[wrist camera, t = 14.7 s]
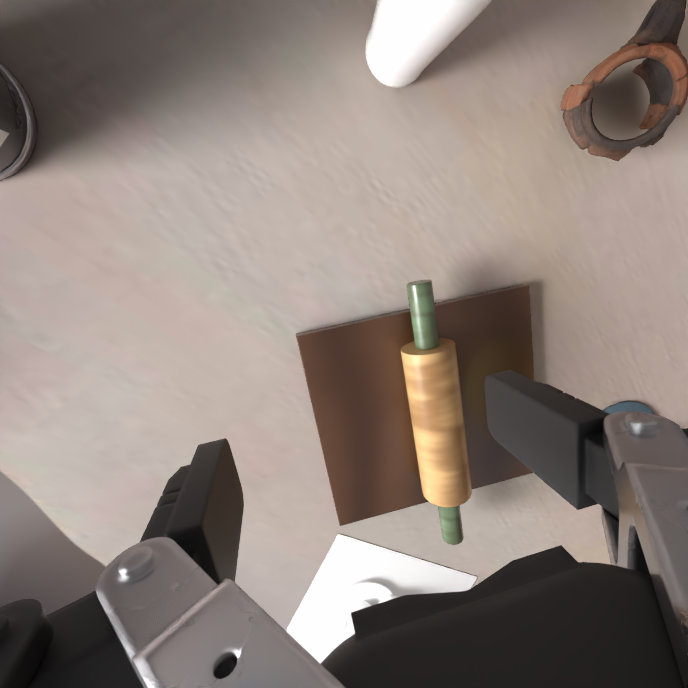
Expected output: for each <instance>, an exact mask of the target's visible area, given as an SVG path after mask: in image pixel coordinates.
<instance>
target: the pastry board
mask: <svg viewBox="0 0 688 688" xmlns="http://www.w3.org/2000/svg"><path fill="white" fill-rule="evenodd" d="M434 304H435V312H436V320H437V328H438V336H439V338H446V339H451V340H453V341H454V342H455V345H456V354H457V363H458V372H459V381H460V390H461V399H462V408H463V417H464V426H465V435H466V443H467V452H468V461H469V470H470V479H471V488H472V489H475V488H479V487H483V486H486V485H490V484H493V483H497V482H501V481H504V480H508V479H512V478H515V477H519V476H522V475H526V474H530V473H533V472H532V471H531V470H530V469H529V468H528V467H526V466H525V465H524V464H523V463H522V462H520V461H519V460H518V459H517V458H516V457H515V456H513V455H512V454H511V453H510V452H509V451H507V450H506V449H505V448H504V447H503V446H502V445H500V444H499V443H498V442H497V441H496V440H495V439H494V438H493V436H492V435H491V433H490V431H489V428H488V425H487V417H486V404H485V390H484V380H485V377H486V376H488V375H491V374H495V373H500V372H504V371H508V370H512V371H514V372H516V373H518V374H521V375H523V376H525V377H527V378H529V379H531V380H533V381H534V368H533V350H532V331H531V313H530V294H529V285H523V284H521V285H517V286H512V287H507V288H503V289H498V290H494V291H489V292H485V293H480V294H475V295H471V296H466V297H462V298H457V299H453V300H448V301H444V302H439V303H434ZM296 337H297V342H298V346H299V350H300V355H301V359H302V363H303V368H304V372H305V376H306V381H307V385H308V389H309V394H310V398H311V402H312V407H313V411H314V415H315V420H316V424H317V428H318V433H319V437H320V441H321V446H322V450H323V454H324V459H325V463H326V467H327V472H328V476H329V480H330V485H331V489H332V494H333V498H334V502H335V507H336V511H337V515H338V520H339V524H340V526H341V525H345V524H349V523H352V522H356V521H359V520H363V519H367V518H370V517H374V516H378V515H381V514H385V513H388V512H392V511H396V510H399V509H403V508H407V507H410V506H414V505H417V504H421V503H425V502H428V500H427V499H426V498H425V497H424V495H423V492H422V486H421V479H420V473H419V466H418V460H417V453H416V447H415V440H414V434H413V427H412V421H411V414H410V408H409V401H408V395H407V388H406V382H405V375H404V369H403V362H402V356H401V348H402V347H403V346H404V345H406V344H408V343H410V342H413V341H415V340H414V333H413V326H412V319H411V312H410V309H407V310H402V311H398V312H393V313H389V314H384V315H380V316H375V317H370V318H366V319H361V320H357V321H352V322H348V323H343V324H338V325H334V326H329V327H325V328H320V329H316V330H311V331H307V332H302V333H297V334H296Z"/></svg>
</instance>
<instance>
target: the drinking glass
mask: <svg viewBox="0 0 688 688" xmlns="http://www.w3.org/2000/svg"><path fill="white" fill-rule="evenodd" d="M491 1H492V0H378V1H377V5H376V9H375V13H374V17H373V21H372V25H371V28H370V30H369V33H368V36H367V40H366V59H367V63H368V66H369V68H370V70H371V72H372V74H373V75H374V76H375V77H376V79H377V80H379V81H380V82H381V83H383V84H384V85H387V86H389V87H396V88H398V87H404V86H407V85H409V84H410V83H412V82H413V81H415V80H416V79H417V78H418V77H419V75H420V74H421V73H422V72H423V70H424V69H425V68H426V67H427V66H428V65H429V64H430V63H431V62H432V61H433V60H434V59H435V58H436V57H437V56H438V55H439V54H440V53H441V52H442V51H443V50H444V49H445V48H446V47H447V46H448V45H449V44H450V43H451V42H452V41H453V40H454V39H455V38H456V37H457V36H458V35H459V34H460V33H461V32H462V31H463V30H464V29H465V28H466V27H467V26H468V25H469V24H470V23H471V22H472V21H473V20H474V19H475V18H476V17H477V16H478V15H479V14H480V13H481V12H482V11H483V10H484V9H485V8H486V7H487V6H488V4H489V3H490V2H491Z"/></svg>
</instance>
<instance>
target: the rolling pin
mask: <svg viewBox="0 0 688 688" xmlns="http://www.w3.org/2000/svg"><path fill="white" fill-rule="evenodd" d="M407 291H408V298H409V305H410V312H411V319H412V326H413V333H414V340H415V341H413V342H410V343H408V344H406V345H404V346H403V347H402V348H401V356H402V362H403V369H404V375H405V382H406V388H407V395H408V401H409V408H410V414H411V421H412V427H413V434H414V440H415V447H416V453H417V460H418V466H419V473H420V479H421V486H422V492H423V495H424V497H425V498H426V499H427V500H428V501H429V502H430V503H432V504H434V505H437V506H438V509H439V516H440V523H441V530H442V537H443V539H444V541H445V542H446V543H448V544H452V545H456V544H459V543H461V542H462V540H463V530H462V522H461V514H460V506H459V505H461V504H463V503H465V502H466V501H467V500H468V499H469V498H470V496H471V494H472V488H471V479H470V470H469V461H468V452H467V443H466V435H465V426H464V417H463V408H462V399H461V390H460V381H459V372H458V363H457V354H456V345H455V342H454V341H453V340H451V339H446V338H439V336H438V328H437V320H436V312H435V304H434V296H433V288H432V281H431V280H420V281H414V282H410V283H408V284H407Z"/></svg>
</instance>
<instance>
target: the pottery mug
mask: <svg viewBox="0 0 688 688" xmlns="http://www.w3.org/2000/svg"><path fill="white" fill-rule="evenodd" d="M686 1H687V0H657V1H656V2H655V3H654V4H653V6H652V7H651V9H650V10H649V12H648V14H647V15H646V17H645V19H644V21H643V22H642V24H641V26H640V28H639V29H638V31H637V33H636V34H635V36H634V37H632V38H631V39H630V40H629V41H628V43H626V44H625V45H624V46H622V47H621V49H620V50H619V51H617V52H615V53H613V54H612V55H611V56H609V57H608V58H607V59H605V60H604V61H603V62H602V63H600V64H599V65H597V66H596V67H595V68H594V69H593V70H592V71H591V72H590V73H589V74H588V75H587V77H586V78H585V79H584V80H583V82H582V84H581V85H570V87H569V88H567V89H566V91H565V94H564V96H563V99H562V102H561V108H562V109H561V110H563V111H564V113H563V119H564V121H565V124H566V127H567V129H568V131H569V133H570V135H571V137H572V139H573V140H574V141H575V143H576V144H577V145H578V146H579V148H580V149H586V148H588V152H589V153H590V154H592V155H596V156H601V157H607V158H610V159H613V160H615V161H619V160H620V159H621V158H623V157H624V156H626V155H627V154H628V153H629V152H630V151H631V150H632V149H633V148H634V147H637V146H640V147H647V146H649V145H654V144H655V143H656V142H657V141H659V140H660V139H661V138H662V137H663V135H664V133H665V131H666V130H667V128H668V126H669V125H670V123H671V122H672V121H673V120H674V118H675V117H676V115H679V114H680V113H681V111H682V109H683V107H684V105H685V102H686V100H687V97H688V64H687V60H686V58H685V57H684V56H683V55H682V53H681V51H680V49H679V47H678V46H677V41H678V36H679V33H680V30H681V27H682V24H683V21H684V18H685V9H686V3H687V2H686ZM641 58H646V59H645V60H644V61H643V62H642V63H641V64H639V65H638V66H637V67H635V69H634V70H633V72H634V73H635V74H637V75H638V76H640V77H641V78H642V79H643V80H644V82H645V83H646V85H647V88H648V90H649V94H650V104H649V107H648V110H647V113H646V115H645V118H644V120H643V122H642V123H641V125H640V129H649V130H648V131H647V132H645V133H644V134H642V135H640V136H637V137H636V138H632V139H628V140H613V139H609V138H607V137H605V136H604V135H602V134H601V133H600V132H599V131H598V129H597V128H596V126H595V125H594V122H593V119H592V102H593V98H590V99H588V96H589V94H590V92H591V90H592V89H593V87H594V86H595V85H596V84H599V83H602V82H603V80H604V79H605V78H606V77H607V76H608V75H609V74H610V73H611V72H612V71H613V70H615V69H616V68H617V67H619V66H621V65H622V64H624V63H626V62H629V61H632V60H635V59H641ZM587 99H588V100H587ZM667 108H668V109H667ZM665 111H666V112H665ZM664 113H665V114H664ZM663 114H664V115H663ZM661 117H662V118H661Z"/></svg>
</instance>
